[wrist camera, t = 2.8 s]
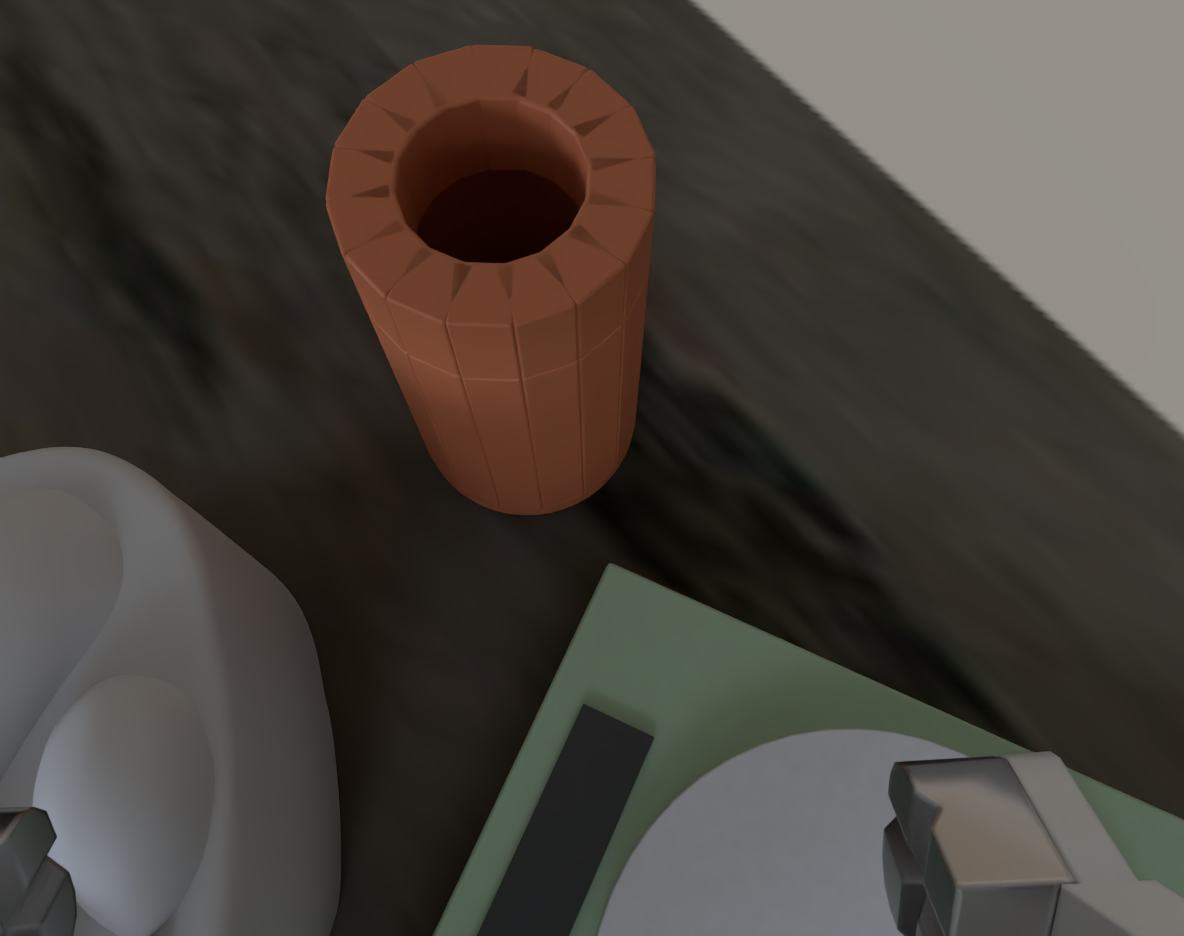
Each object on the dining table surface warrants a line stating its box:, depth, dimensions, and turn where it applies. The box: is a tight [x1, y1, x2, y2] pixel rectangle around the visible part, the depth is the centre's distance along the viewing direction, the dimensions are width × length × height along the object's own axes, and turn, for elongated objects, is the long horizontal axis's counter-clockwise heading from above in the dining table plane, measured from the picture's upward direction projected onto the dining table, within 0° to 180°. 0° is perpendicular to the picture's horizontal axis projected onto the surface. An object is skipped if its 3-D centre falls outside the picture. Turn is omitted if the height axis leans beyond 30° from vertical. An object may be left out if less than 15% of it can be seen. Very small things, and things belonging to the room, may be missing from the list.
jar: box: [326, 45, 656, 515], centre depth 21 cm, size 5×5×10 cm
